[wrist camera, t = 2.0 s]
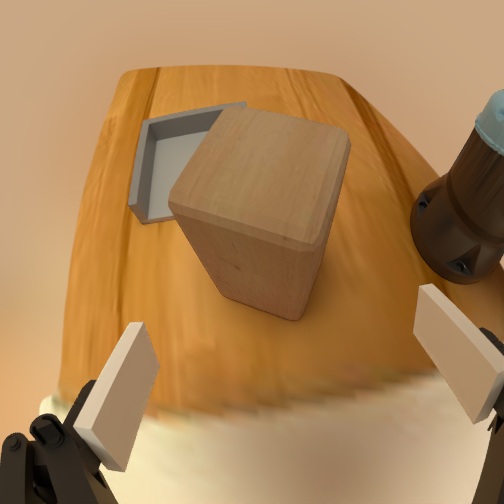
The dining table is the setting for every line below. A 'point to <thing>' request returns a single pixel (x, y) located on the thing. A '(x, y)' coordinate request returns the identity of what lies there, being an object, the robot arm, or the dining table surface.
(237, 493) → the dining table surface
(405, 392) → the dining table surface
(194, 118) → the end cap cradle
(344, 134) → the wooden block
